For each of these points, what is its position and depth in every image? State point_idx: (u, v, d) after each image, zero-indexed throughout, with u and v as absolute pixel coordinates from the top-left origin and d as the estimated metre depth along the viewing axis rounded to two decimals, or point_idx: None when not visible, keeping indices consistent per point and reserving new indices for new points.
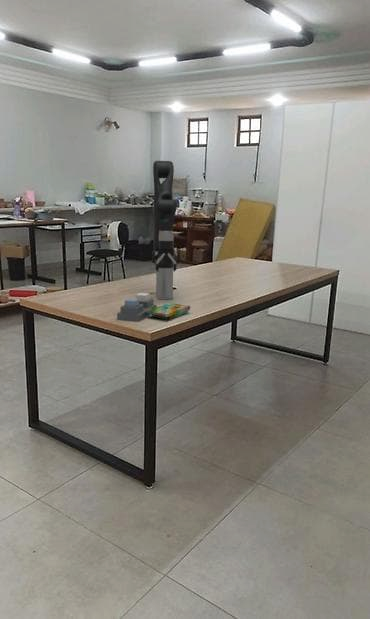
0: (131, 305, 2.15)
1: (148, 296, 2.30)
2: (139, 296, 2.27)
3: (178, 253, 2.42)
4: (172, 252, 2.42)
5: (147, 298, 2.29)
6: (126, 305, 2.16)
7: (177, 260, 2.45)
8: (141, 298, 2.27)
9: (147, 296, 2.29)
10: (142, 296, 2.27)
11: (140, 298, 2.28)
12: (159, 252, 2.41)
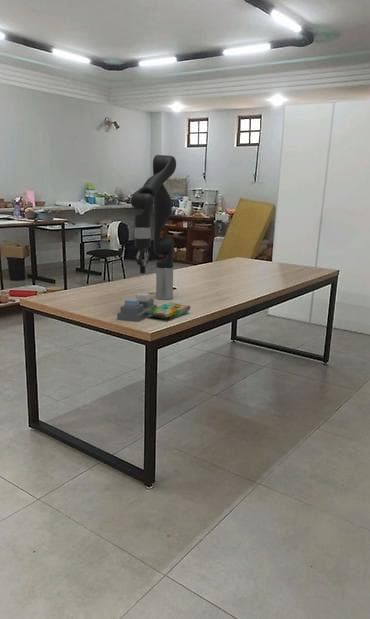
0: (131, 305, 2.15)
1: (148, 296, 2.30)
2: (139, 296, 2.27)
3: (149, 254, 2.29)
4: (147, 250, 2.27)
5: (147, 298, 2.29)
6: (126, 305, 2.16)
7: None
8: (141, 298, 2.27)
9: (147, 296, 2.29)
10: (142, 296, 2.27)
11: (140, 298, 2.28)
12: (141, 252, 2.21)
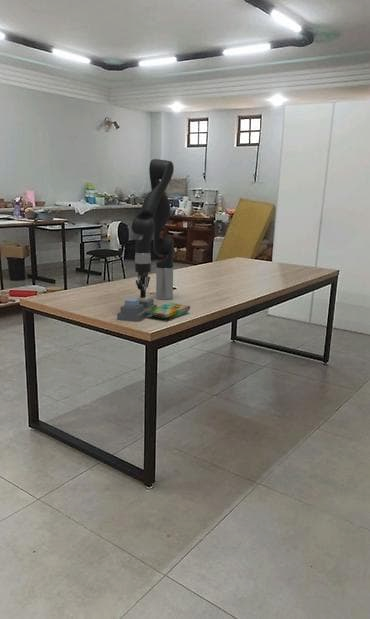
0: (131, 305, 2.15)
1: (148, 299, 2.30)
2: (139, 299, 2.28)
3: (149, 278, 2.32)
4: (147, 274, 2.30)
5: None
6: (126, 305, 2.16)
7: None
8: None
9: (147, 299, 2.29)
10: (142, 299, 2.27)
11: None
12: (142, 277, 2.24)
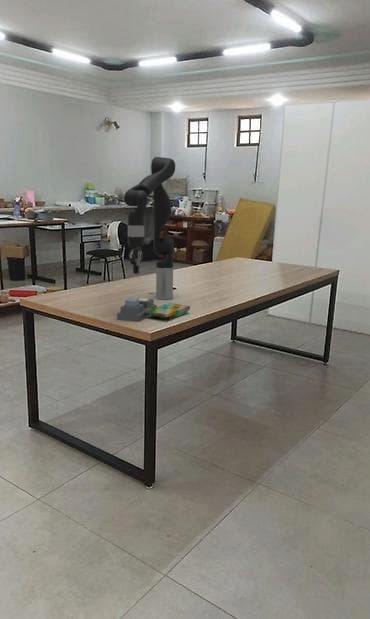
0: (131, 305, 2.15)
1: None
2: None
3: (142, 254, 2.21)
4: None
5: None
6: (126, 305, 2.16)
7: None
8: None
9: None
10: None
11: None
12: (135, 251, 2.12)
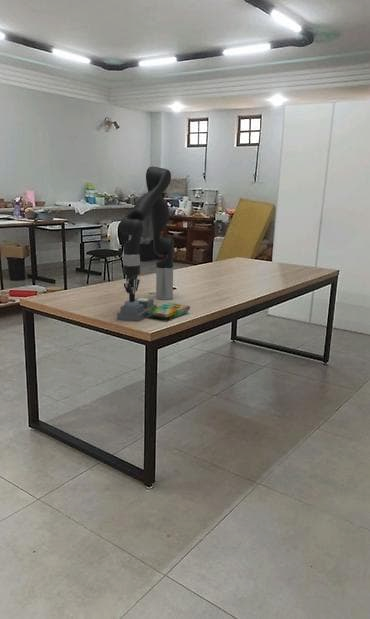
0: None
1: None
2: None
3: (139, 281, 2.20)
4: None
5: None
6: None
7: None
8: None
9: None
10: None
11: None
12: (130, 280, 2.11)
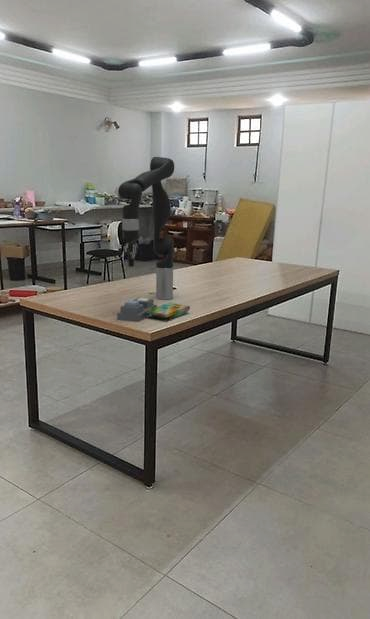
0: None
1: None
2: None
3: (138, 246, 2.21)
4: None
5: None
6: None
7: None
8: None
9: None
10: None
11: None
12: (129, 244, 2.13)
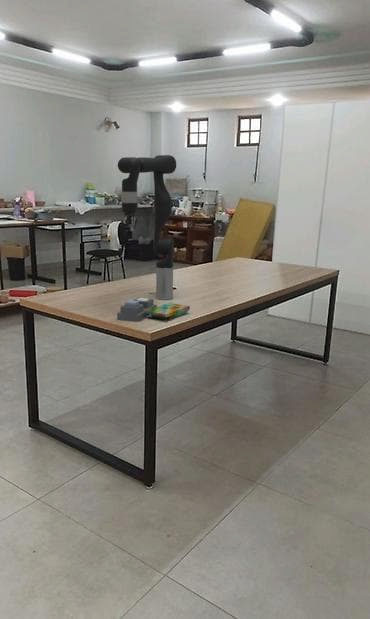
0: None
1: None
2: None
3: (136, 220, 2.29)
4: (134, 215, 2.26)
5: None
6: None
7: None
8: None
9: None
10: None
11: None
12: (128, 216, 2.20)
